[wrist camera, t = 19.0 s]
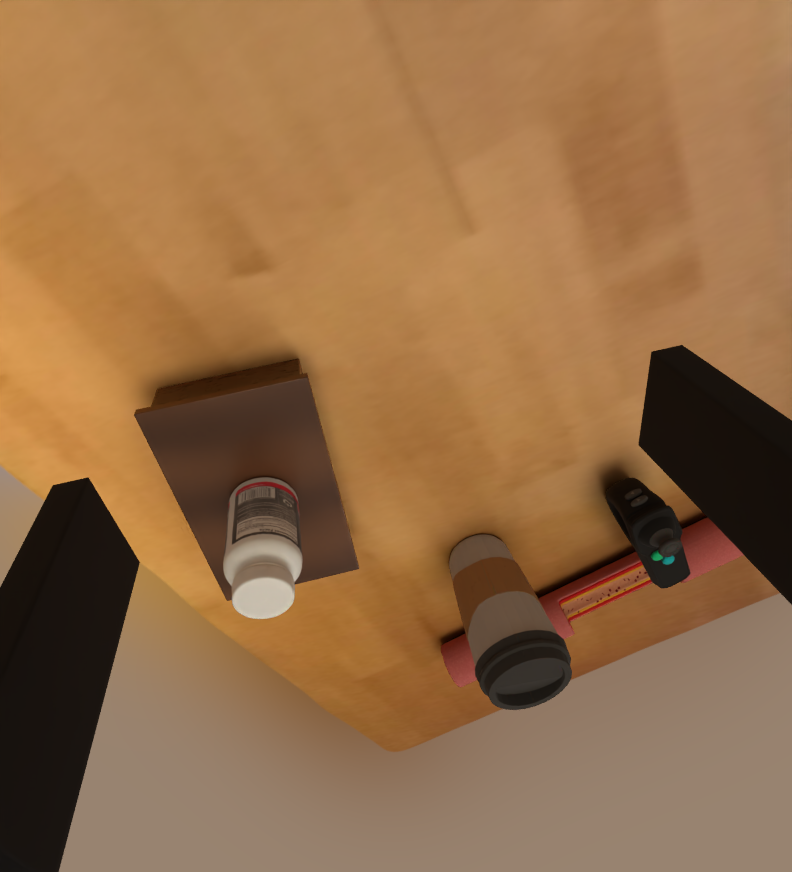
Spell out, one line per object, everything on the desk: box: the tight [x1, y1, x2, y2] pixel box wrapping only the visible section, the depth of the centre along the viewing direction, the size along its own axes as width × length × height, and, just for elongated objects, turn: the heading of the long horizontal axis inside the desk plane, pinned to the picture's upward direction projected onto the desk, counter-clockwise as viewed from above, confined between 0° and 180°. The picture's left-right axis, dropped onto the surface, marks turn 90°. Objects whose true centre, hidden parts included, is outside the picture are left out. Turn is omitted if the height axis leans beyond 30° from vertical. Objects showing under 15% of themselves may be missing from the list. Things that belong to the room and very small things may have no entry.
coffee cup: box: [449, 534, 572, 710], centre depth 52 cm, size 8×8×15 cm
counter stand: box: [134, 359, 359, 601], centre depth 46 cm, size 20×12×4 cm, turn 9°
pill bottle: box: [223, 477, 303, 619], centre depth 40 cm, size 5×5×10 cm
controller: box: [606, 478, 691, 588], centre depth 54 cm, size 4×12×10 cm, turn 30°
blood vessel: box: [441, 517, 744, 687], centre depth 62 cm, size 42×5×5 cm, turn 118°
